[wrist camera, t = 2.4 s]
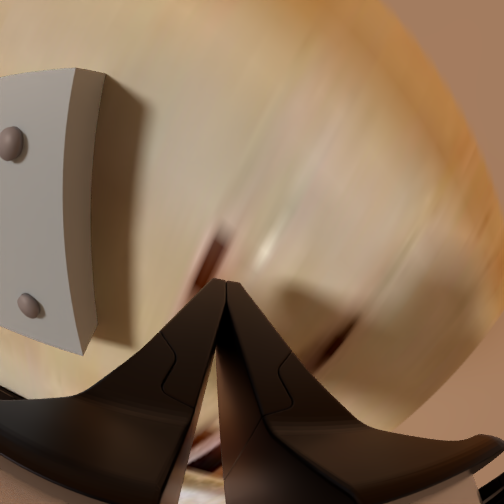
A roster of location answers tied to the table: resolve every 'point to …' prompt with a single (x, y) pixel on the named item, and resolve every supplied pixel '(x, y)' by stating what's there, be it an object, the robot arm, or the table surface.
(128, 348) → the table surface
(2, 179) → the leaf
